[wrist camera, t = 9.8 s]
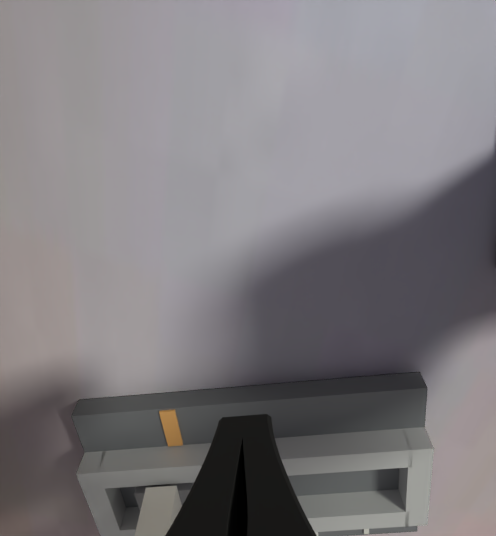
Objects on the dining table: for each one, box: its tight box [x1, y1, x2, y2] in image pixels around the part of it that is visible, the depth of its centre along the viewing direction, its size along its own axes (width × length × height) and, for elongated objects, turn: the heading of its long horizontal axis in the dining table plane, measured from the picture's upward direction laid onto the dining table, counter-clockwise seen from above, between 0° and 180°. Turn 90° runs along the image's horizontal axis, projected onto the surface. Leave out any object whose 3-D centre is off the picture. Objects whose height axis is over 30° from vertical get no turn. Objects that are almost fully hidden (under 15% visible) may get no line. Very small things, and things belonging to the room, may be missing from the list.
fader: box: [134, 482, 194, 536], centre depth 24 cm, size 3×4×6 cm
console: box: [71, 372, 434, 536], centre depth 26 cm, size 18×11×3 cm, turn 96°
